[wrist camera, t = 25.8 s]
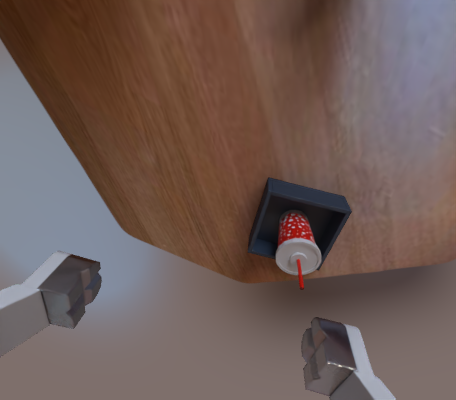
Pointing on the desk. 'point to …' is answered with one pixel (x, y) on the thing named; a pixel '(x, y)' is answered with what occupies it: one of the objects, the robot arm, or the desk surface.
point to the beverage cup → (296, 245)
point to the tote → (303, 201)
